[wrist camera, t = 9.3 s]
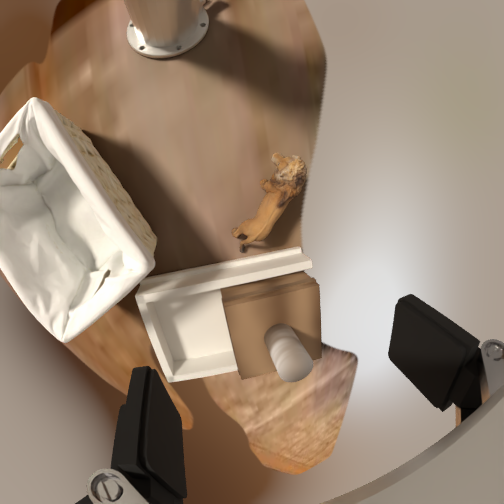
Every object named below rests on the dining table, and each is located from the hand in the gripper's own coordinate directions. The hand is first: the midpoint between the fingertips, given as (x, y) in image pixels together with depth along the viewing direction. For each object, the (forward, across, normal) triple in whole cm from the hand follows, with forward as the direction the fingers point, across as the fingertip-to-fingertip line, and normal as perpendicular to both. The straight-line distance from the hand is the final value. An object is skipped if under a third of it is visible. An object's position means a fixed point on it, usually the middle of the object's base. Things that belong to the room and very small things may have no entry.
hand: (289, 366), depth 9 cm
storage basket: (+32, +19, -6) cm, 37 cm away
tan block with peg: (+29, -4, +15) cm, 33 cm away
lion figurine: (+31, -7, -1) cm, 32 cm away
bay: (+30, +1, +15) cm, 34 cm away
